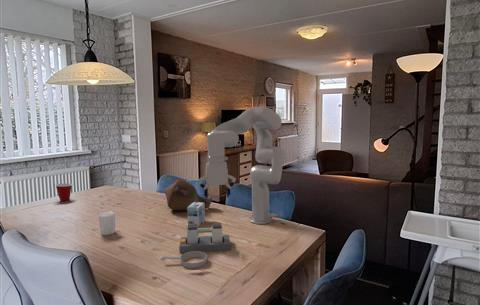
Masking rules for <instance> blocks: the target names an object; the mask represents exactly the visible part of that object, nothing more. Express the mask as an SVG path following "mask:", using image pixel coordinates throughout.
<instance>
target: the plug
mask: <svg viewBox="0 0 480 305" xmlns="http://www.w3.org/2000/svg"><path fill="white" fill-rule="evenodd" d="M211 228H212V231H211V235H212V243H218V242H222V235H223V226H222V223H221V222H216V223H215V222H214V223H212V225H211Z"/></svg>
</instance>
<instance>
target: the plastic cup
mask: <svg viewBox="0 0 480 305" xmlns="http://www.w3.org/2000/svg"><path fill="white" fill-rule="evenodd" d="M73 185H74V184H73V183H66V182H65V183H57V184H55V187H56V191H57V194H58V198H59V201H60V202H61V203H62V202H63V203H65V202H69V201H70V199H71V193H72V192H71V191H72V187H73Z"/></svg>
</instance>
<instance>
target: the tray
mask: <svg viewBox="0 0 480 305" xmlns="http://www.w3.org/2000/svg"><path fill="white" fill-rule="evenodd" d="M200 232H201V233H203V232H204V233H205V232H212V227H200V228H199V227H198V233H200ZM208 236H212V234H211V235H208Z"/></svg>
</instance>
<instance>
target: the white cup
mask: <svg viewBox="0 0 480 305" xmlns="http://www.w3.org/2000/svg"><path fill="white" fill-rule="evenodd" d="M98 222H99V228H100V229H99V230H100V234H101V235H102V236H109V235H113V234H115V233H116V212H114V211H104V212H101V213H99V214H98Z"/></svg>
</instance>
